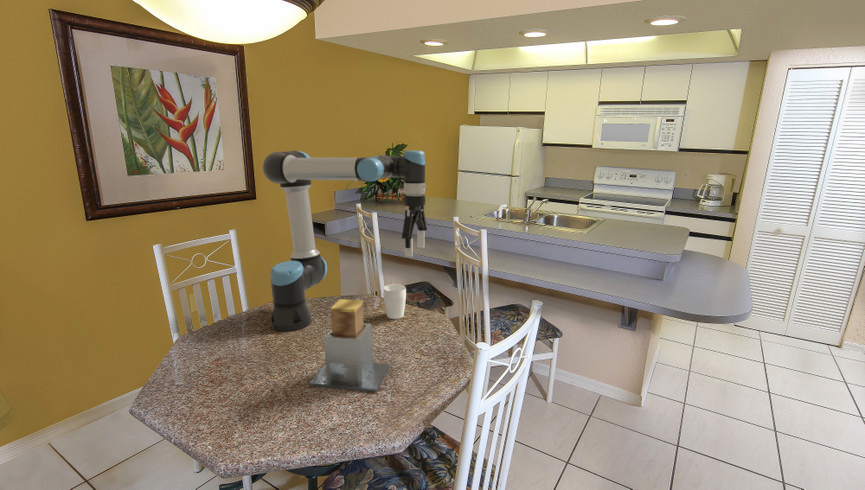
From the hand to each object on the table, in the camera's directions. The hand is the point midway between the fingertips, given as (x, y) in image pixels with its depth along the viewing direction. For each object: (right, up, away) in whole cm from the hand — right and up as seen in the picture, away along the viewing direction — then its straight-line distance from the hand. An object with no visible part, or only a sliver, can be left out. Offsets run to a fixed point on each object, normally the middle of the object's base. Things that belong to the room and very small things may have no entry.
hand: (415, 251), depth 159 cm
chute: (-18, -37, -31) cm, 51 cm away
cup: (-8, -26, +13) cm, 30 cm away
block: (-18, -28, -33) cm, 47 cm away
